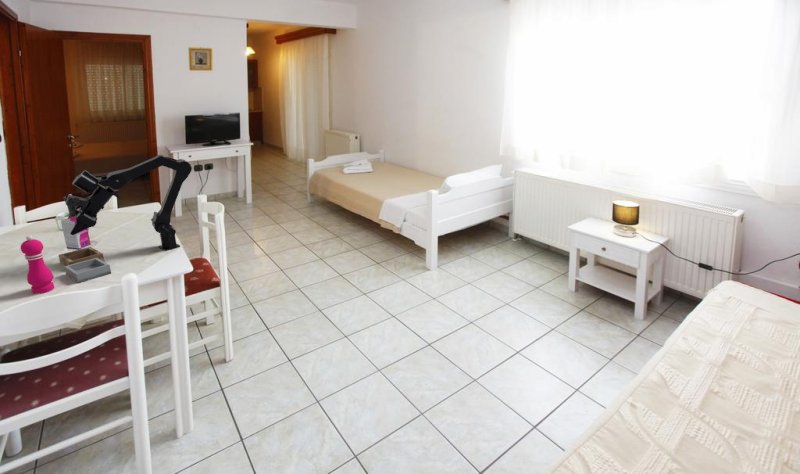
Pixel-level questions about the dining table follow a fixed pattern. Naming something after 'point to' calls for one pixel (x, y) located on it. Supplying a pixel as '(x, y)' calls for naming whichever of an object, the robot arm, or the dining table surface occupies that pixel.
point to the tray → (87, 270)
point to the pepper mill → (37, 266)
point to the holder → (80, 256)
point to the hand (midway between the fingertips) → (71, 231)
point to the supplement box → (75, 240)
